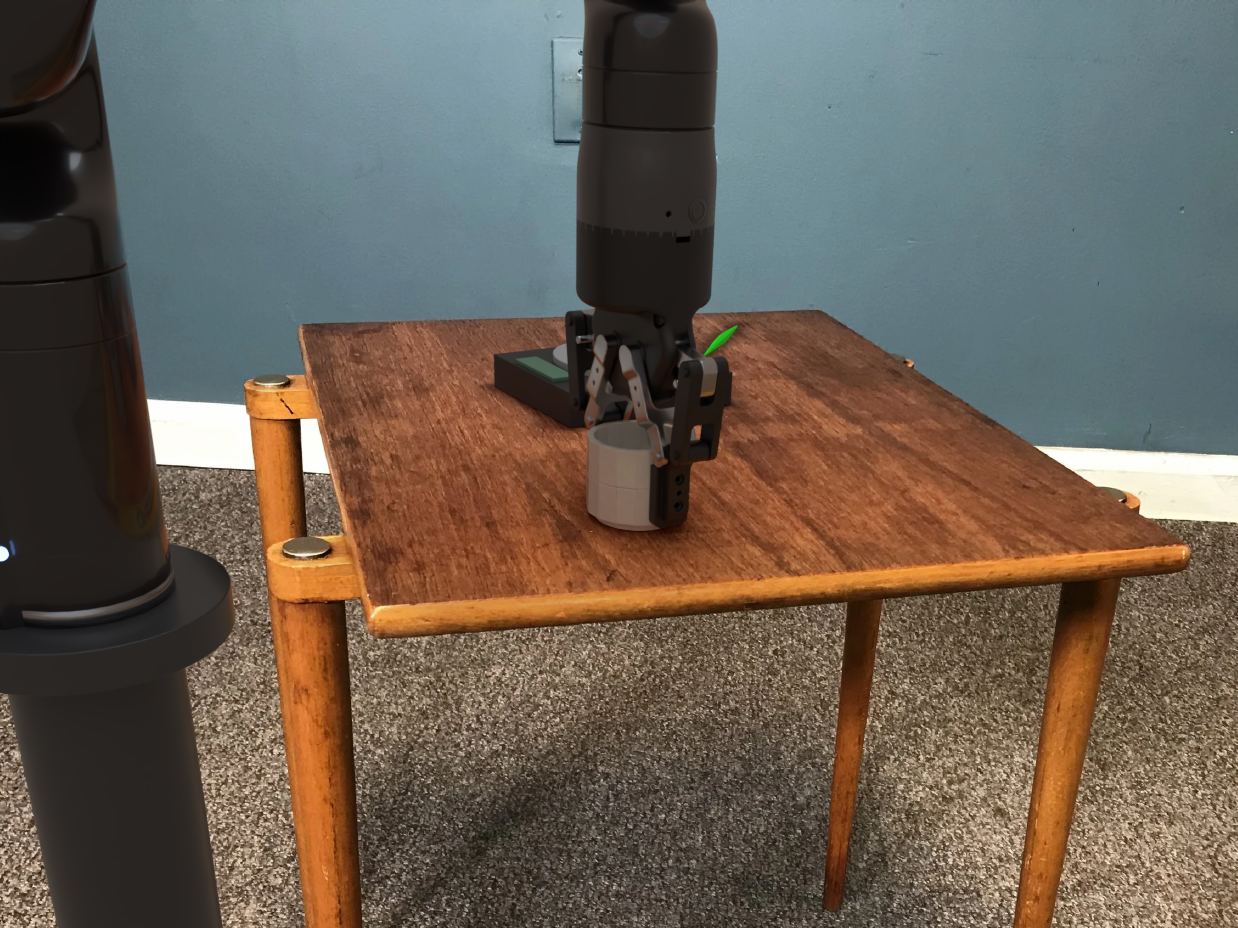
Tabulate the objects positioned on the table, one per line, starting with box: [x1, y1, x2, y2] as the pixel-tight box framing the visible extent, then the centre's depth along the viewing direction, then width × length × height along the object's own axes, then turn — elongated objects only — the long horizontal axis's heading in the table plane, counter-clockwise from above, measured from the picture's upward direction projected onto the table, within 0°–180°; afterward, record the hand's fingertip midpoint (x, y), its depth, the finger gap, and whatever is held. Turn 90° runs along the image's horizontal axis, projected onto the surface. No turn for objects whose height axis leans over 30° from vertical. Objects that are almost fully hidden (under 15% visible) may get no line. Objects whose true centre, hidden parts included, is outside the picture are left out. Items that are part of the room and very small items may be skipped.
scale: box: [493, 342, 733, 429], centre depth 103 cm, size 14×12×3 cm
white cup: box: [585, 419, 673, 532], centre depth 80 cm, size 6×6×5 cm
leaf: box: [703, 324, 739, 357], centre depth 121 cm, size 1×14×1 cm, turn 165°
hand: (637, 505), depth 81 cm, fingers closed on white cup, 6 cm apart
